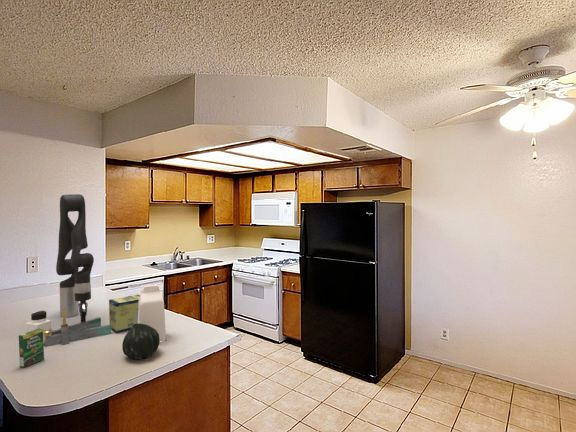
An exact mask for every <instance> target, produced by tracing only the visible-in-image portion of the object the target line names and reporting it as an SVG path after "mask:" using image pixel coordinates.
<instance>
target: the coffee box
mask: <svg viewBox="0 0 576 432" xmlns="http://www.w3.org/2000/svg"><path fill="white" fill-rule="evenodd" d="M44 346H45V345H44V337H43V329H40V328H38V329H36V330H33V331H30V332H27V331H26V332H25V333H22V334H18V350H19V367H20V368H23V369H24V368H25V369H26V368H27V367H30V366H31V365H32V366H33V365H35V364H36V363H40V362H41V361H44V360H45V349H44V348H45V347H44Z"/></svg>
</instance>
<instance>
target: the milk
mask: <svg viewBox="0 0 576 432" xmlns="http://www.w3.org/2000/svg"><path fill="white" fill-rule="evenodd" d="M139 295H140V297H139V302H138V324H146V325H149V326H150V327H152V328H154V329H155V330H157V332H158V334H159V339H160V340H159V343H161V342H160V341H165V340H166V341H167V332H166V331H167V330H166V316H165V315H166V313H165V303H164V302H165V301H164V299H163V296H162V295H163V294H162V292H161V289H160V286H159V285H158V284H153V285H145V286H143V289H142V291H141V293H140V294H139ZM166 341H165V342H166Z"/></svg>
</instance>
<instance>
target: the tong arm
mask: <svg viewBox="0 0 576 432" xmlns="http://www.w3.org/2000/svg"><path fill="white" fill-rule="evenodd" d="M99 326H102V318H101V317H100V316H98V317H94V318H91V319H87V320H86V321H84V322H81V321H80V322H78V323H75V324H71V325H68V329H69V332H72V331H78V330H83V329H89V328H94V327H99ZM56 334H61V327H60V328H58V329H52V332H51V333H50V335H56Z"/></svg>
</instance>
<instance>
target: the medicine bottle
mask: <svg viewBox="0 0 576 432" xmlns="http://www.w3.org/2000/svg"><path fill="white" fill-rule="evenodd" d="M47 318H48V316H47V311H45V310H37V311H34V312H32V313H31V317H30V319H31V320H30V321H29V322H26V333H27V332H30V331H33V330H36V329H38V328H40V329H43V330H47V329H52V319H47ZM43 338H44V334H43Z"/></svg>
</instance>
